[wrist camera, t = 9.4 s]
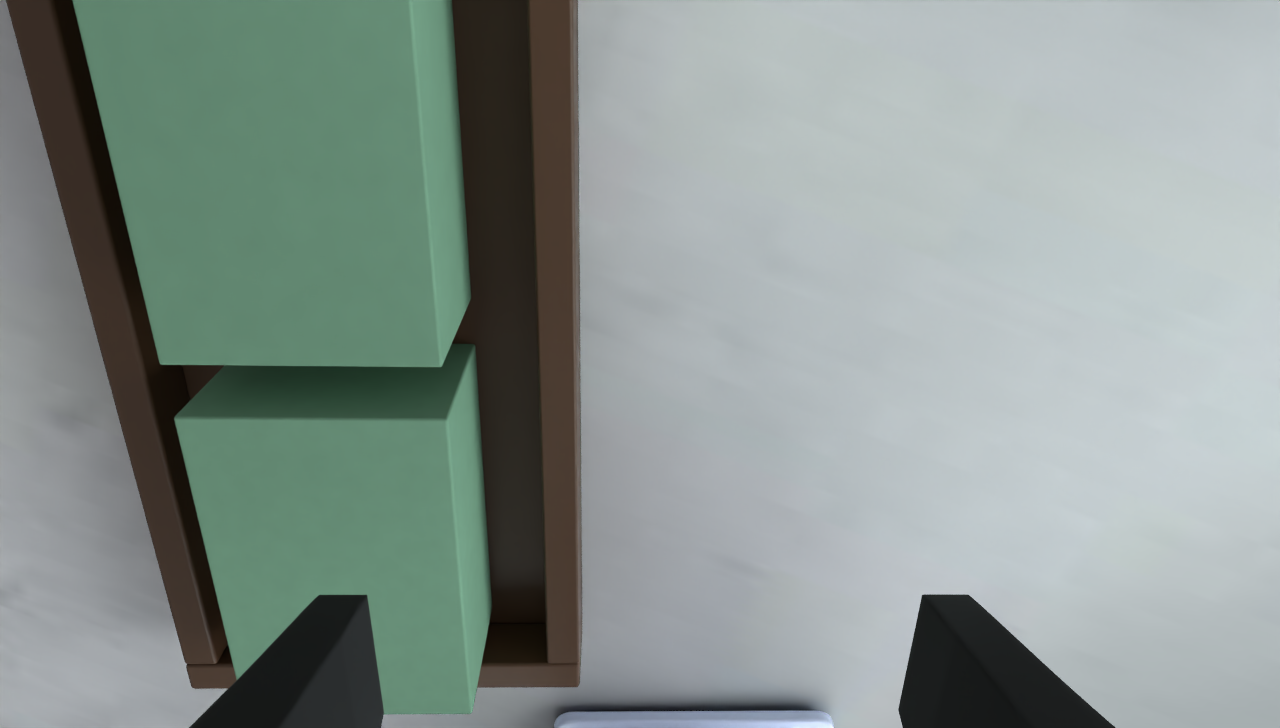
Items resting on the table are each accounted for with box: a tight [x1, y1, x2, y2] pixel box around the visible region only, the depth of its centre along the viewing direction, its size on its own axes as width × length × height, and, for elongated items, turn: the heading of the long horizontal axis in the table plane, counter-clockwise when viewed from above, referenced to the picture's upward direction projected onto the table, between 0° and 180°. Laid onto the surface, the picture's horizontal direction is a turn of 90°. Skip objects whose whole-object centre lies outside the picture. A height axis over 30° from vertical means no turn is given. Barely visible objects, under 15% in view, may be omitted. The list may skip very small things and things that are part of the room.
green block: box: [174, 344, 492, 714], centre depth 19 cm, size 8×5×4 cm, turn 179°
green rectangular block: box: [72, 0, 471, 367], centre depth 15 cm, size 8×5×4 cm, turn 179°
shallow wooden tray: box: [6, 0, 582, 689], centre depth 18 cm, size 19×10×2 cm, turn 179°
